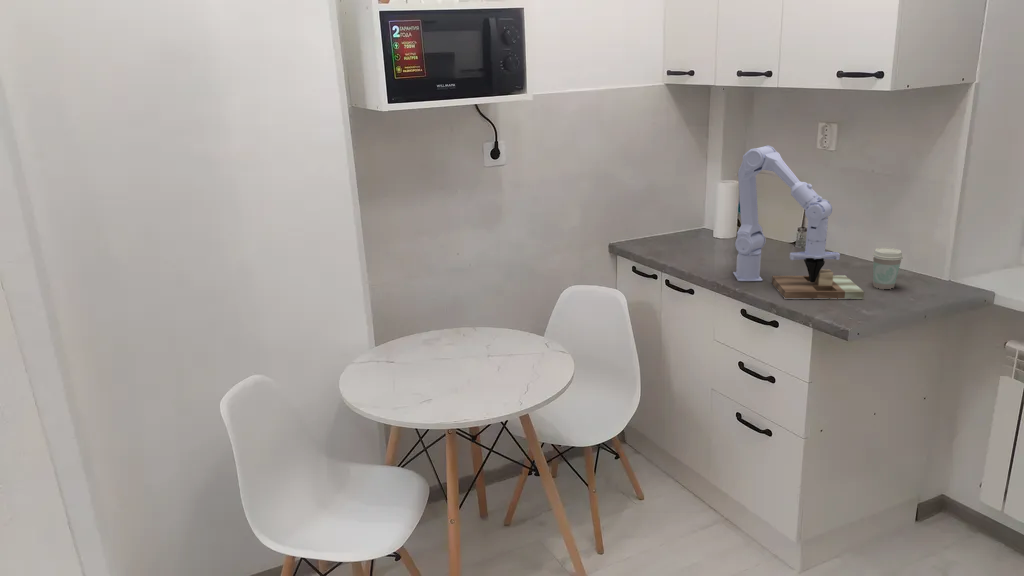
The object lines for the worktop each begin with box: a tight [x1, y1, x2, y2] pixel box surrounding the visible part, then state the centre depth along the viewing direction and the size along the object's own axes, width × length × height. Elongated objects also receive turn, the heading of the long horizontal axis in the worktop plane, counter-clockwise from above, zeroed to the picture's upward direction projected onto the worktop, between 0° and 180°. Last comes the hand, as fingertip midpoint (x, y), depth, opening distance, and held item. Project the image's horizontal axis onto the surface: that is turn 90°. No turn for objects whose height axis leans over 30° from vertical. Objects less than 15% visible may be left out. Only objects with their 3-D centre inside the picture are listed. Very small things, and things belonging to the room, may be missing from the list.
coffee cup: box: [872, 247, 904, 290], centre depth 225 cm, size 9×9×12 cm
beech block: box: [815, 268, 834, 285], centre depth 224 cm, size 4×4×4 cm
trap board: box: [771, 275, 865, 300], centre depth 225 cm, size 17×23×2 cm
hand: (812, 281), depth 224 cm, fingers closed
